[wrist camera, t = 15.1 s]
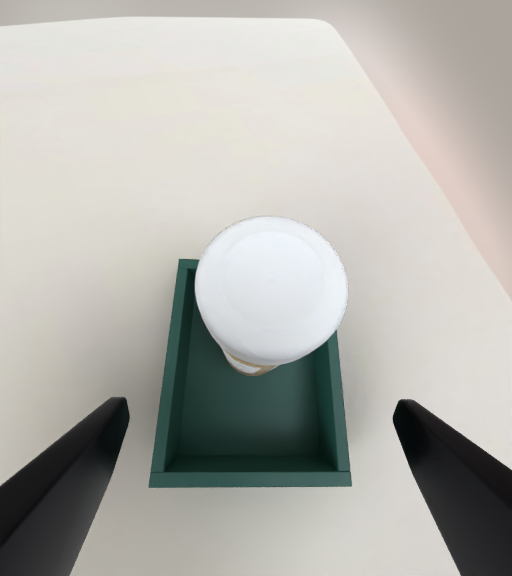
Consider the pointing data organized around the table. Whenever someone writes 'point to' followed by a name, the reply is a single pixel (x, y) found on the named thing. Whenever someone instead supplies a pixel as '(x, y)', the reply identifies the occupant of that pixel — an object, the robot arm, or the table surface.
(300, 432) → the tray
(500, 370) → the table surface
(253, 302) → the sprinkles bottle
